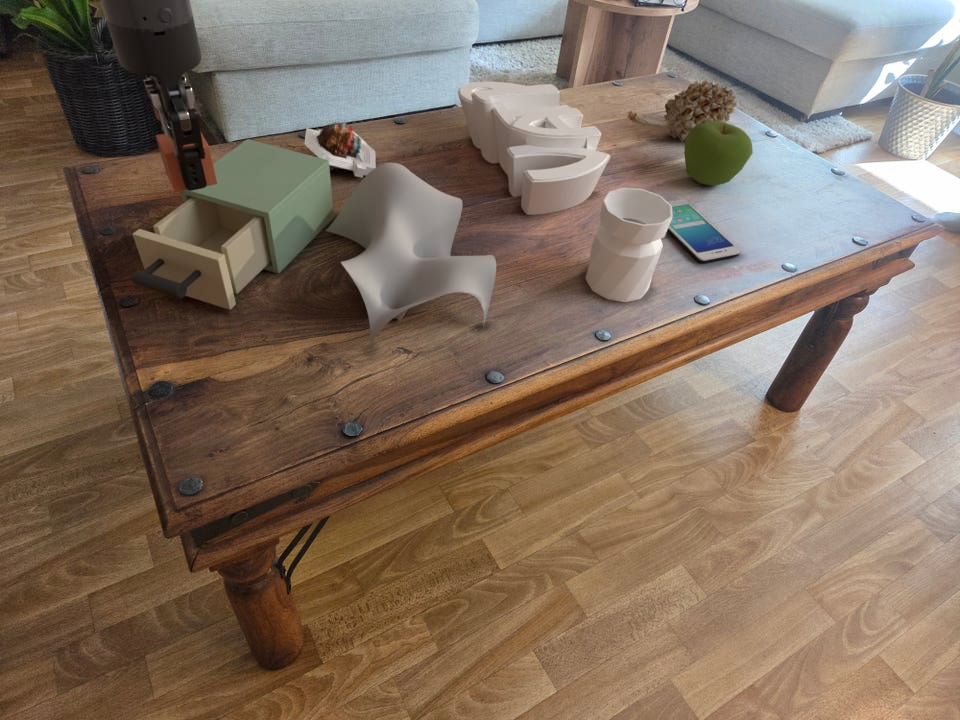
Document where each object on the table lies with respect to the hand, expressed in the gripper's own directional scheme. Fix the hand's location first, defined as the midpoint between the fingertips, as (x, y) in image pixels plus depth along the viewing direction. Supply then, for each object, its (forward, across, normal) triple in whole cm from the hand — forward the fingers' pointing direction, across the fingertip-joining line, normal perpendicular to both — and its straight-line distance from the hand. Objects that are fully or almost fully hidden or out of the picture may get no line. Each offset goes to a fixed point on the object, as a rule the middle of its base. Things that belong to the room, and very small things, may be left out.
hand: (190, 176), depth 73 cm
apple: (+15, +6, +80) cm, 81 cm away
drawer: (+14, 0, 0) cm, 14 cm away
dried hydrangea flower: (+15, -8, +85) cm, 87 cm away
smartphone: (+15, +17, +66) cm, 70 cm away
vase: (+15, +22, +48) cm, 54 cm away
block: (0, 0, 0) cm, 0 cm away
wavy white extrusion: (+15, -8, +52) cm, 55 cm away
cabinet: (+15, -7, +9) cm, 19 cm away
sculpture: (+15, +9, +22) cm, 28 cm away
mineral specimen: (+15, -21, +25) cm, 36 cm away
